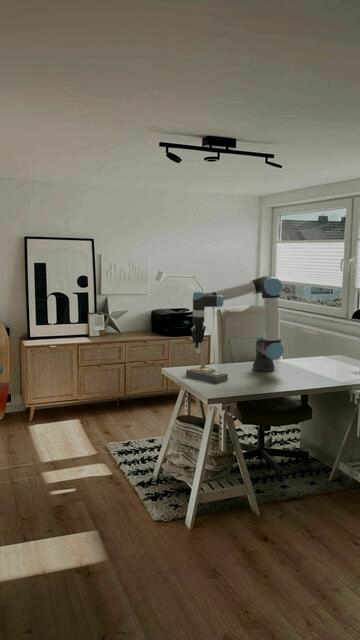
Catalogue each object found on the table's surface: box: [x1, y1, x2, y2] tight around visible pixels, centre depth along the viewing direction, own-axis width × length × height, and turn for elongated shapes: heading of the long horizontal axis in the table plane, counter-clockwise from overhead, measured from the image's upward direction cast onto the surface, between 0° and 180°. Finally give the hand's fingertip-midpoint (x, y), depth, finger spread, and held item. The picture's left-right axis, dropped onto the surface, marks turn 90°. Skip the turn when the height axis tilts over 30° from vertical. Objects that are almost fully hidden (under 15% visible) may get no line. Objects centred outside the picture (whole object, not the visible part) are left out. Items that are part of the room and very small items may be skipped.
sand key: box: [201, 367, 213, 374], centre depth 335 cm, size 5×5×3 cm
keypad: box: [185, 367, 229, 384], centre depth 335 cm, size 25×11×4 cm, turn 48°
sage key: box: [211, 371, 223, 376], centre depth 330 cm, size 5×5×3 cm
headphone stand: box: [197, 336, 216, 372], centre depth 355 cm, size 10×11×22 cm
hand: (197, 352), depth 338 cm, fingers closed
